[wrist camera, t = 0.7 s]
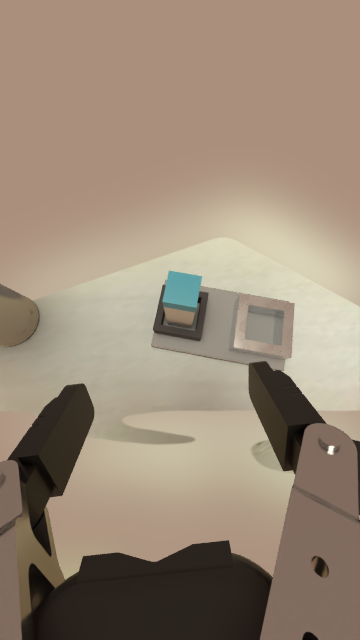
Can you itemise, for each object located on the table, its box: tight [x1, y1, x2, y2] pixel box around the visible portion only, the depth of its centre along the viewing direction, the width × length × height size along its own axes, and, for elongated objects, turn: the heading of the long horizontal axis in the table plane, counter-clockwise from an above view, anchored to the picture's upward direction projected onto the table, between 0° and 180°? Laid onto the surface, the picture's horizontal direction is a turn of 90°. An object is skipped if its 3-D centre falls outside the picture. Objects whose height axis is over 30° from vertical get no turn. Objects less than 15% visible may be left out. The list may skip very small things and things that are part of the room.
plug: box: [162, 271, 202, 329], centre depth 31 cm, size 4×4×12 cm
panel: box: [151, 280, 289, 371], centre depth 37 cm, size 22×12×1 cm, turn 79°
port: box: [228, 294, 294, 359], centre depth 35 cm, size 9×9×4 cm
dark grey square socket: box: [153, 285, 209, 341], centre depth 36 cm, size 8×8×3 cm
